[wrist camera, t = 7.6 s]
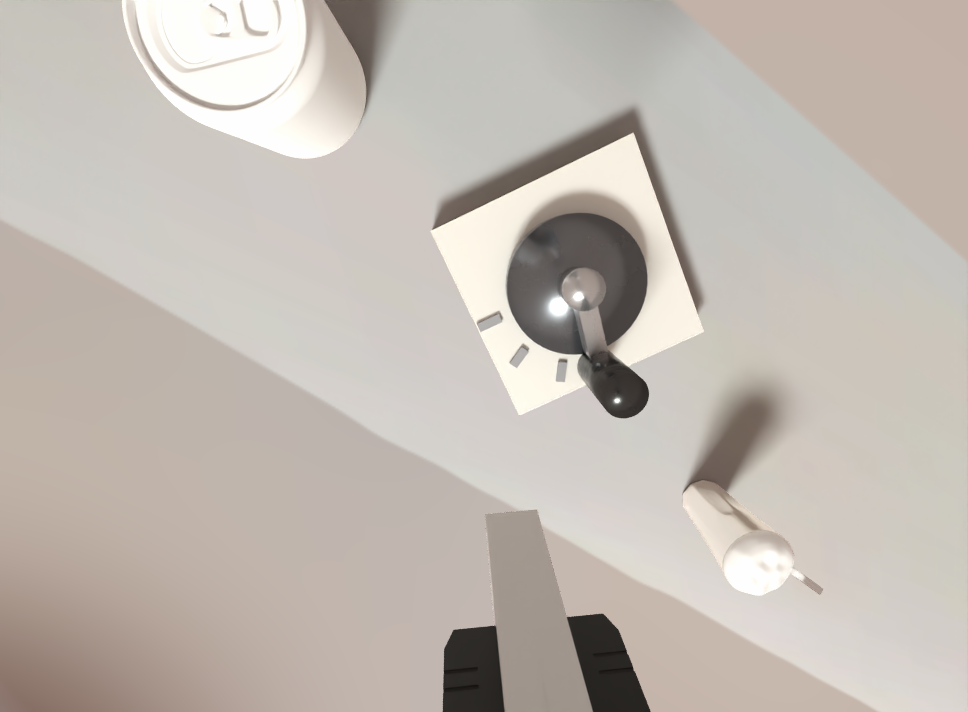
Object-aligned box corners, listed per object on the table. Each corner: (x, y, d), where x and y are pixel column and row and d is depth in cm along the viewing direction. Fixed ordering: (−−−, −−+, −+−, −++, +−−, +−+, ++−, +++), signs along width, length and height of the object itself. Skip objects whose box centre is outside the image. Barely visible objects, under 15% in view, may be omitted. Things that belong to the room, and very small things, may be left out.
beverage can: (220, 25, 31) (78, -92, 19) (354, 9, 31) (293, -117, 19) (253, 167, 33) (143, 139, 21) (378, 151, 33) (336, 114, 21)
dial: (489, 235, 32) (498, 240, 26) (625, 195, 32) (672, 188, 25) (533, 396, 35) (552, 439, 29) (659, 360, 35) (708, 394, 28)
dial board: (431, 230, 34) (430, 231, 32) (623, 137, 34) (634, 131, 31) (516, 405, 38) (519, 416, 36) (691, 325, 37) (705, 332, 35)
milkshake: (726, 529, 42) (807, 622, 32) (665, 516, 41) (729, 607, 32) (746, 480, 41) (837, 561, 31) (685, 466, 40) (757, 544, 30)
